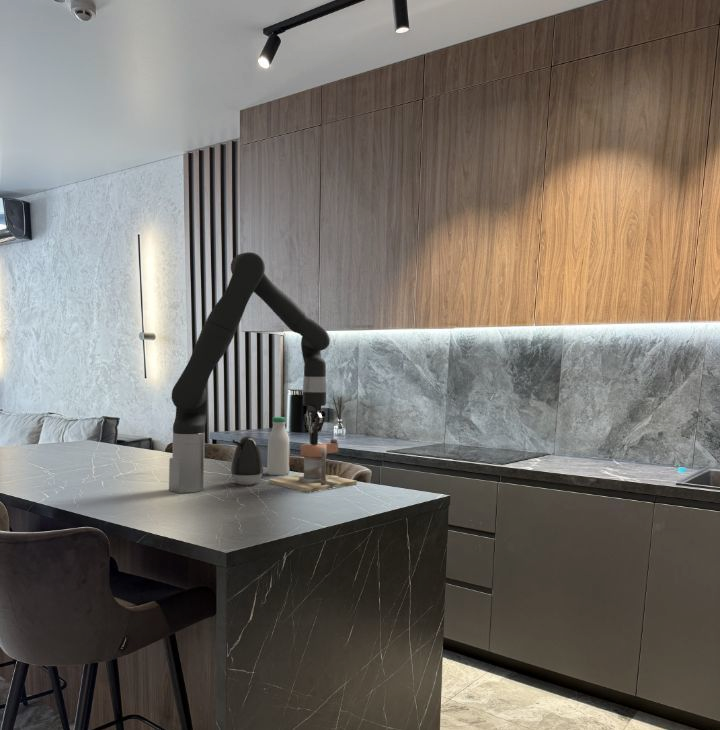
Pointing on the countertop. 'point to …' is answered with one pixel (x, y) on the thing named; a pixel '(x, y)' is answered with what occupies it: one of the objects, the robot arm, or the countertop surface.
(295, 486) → the post board
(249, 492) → the countertop surface
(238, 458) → the pump dispenser
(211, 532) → the countertop surface
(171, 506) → the countertop surface
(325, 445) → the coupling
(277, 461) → the milk bottle
